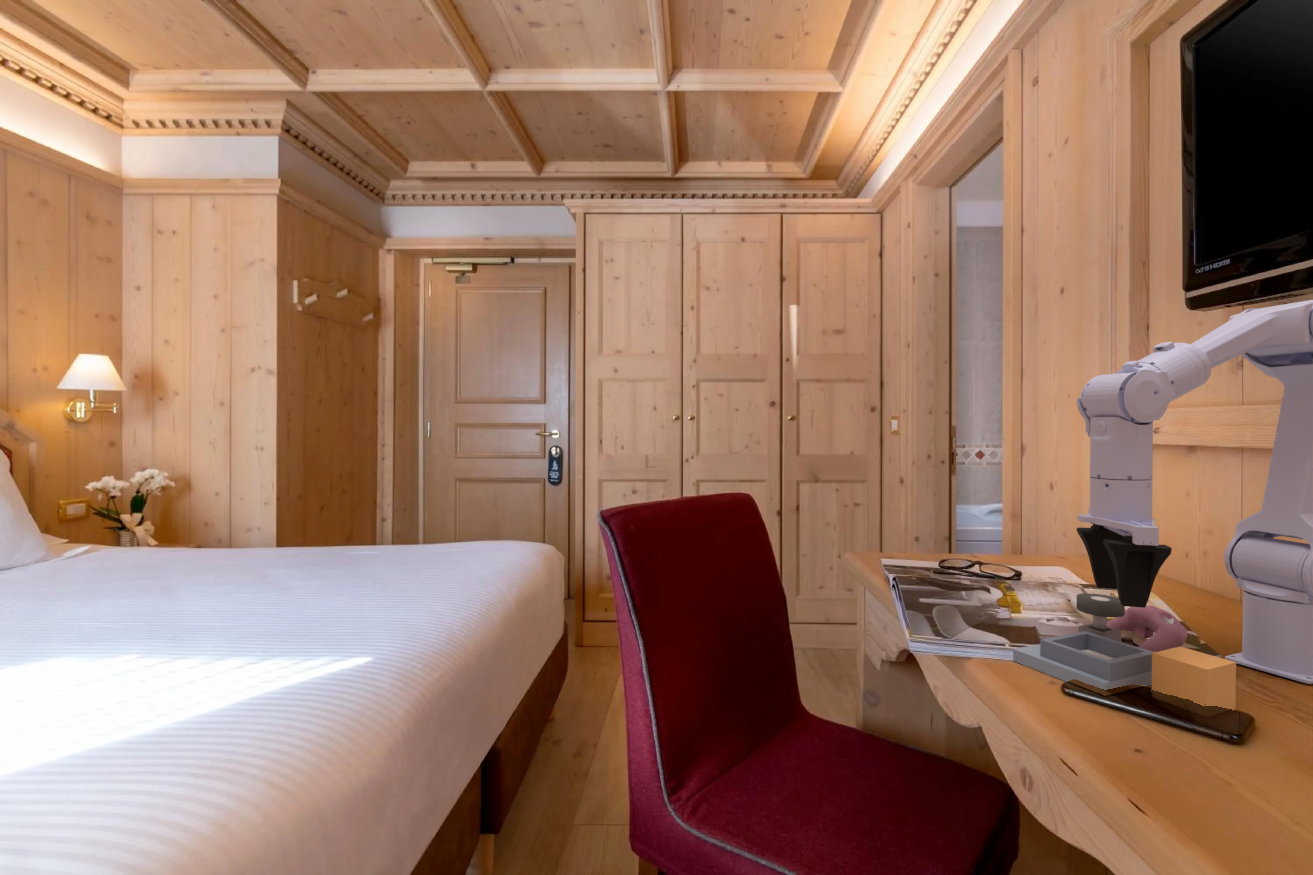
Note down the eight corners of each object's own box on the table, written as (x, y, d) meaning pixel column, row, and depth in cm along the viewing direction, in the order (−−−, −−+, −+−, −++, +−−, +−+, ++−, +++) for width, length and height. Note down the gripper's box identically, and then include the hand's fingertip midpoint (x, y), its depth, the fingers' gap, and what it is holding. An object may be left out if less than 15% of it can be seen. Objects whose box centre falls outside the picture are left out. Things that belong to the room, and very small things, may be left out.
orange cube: (1179, 690, 69) (1180, 646, 69) (1235, 709, 64) (1236, 662, 64) (1151, 698, 67) (1152, 652, 67) (1206, 718, 62) (1207, 669, 62)
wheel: (1092, 619, 82) (1093, 591, 82) (1133, 630, 78) (1134, 601, 78) (1067, 624, 80) (1067, 595, 80) (1107, 636, 76) (1107, 606, 76)
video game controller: (1173, 678, 76) (1203, 629, 75) (1135, 659, 77) (1165, 610, 76) (1128, 649, 86) (1155, 605, 85) (1095, 632, 86) (1121, 589, 86)
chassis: (1087, 645, 83) (1088, 619, 83) (1183, 676, 72) (1184, 647, 72) (1013, 660, 77) (1013, 633, 77) (1105, 696, 67) (1105, 664, 67)
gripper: (1060, 472, 79) (1060, 578, 79) (1102, 483, 65) (1101, 611, 65) (1127, 473, 76) (1126, 582, 77) (1184, 485, 63) (1182, 618, 63)
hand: (1119, 596), depth 71 cm, fingers open, 7 cm apart
